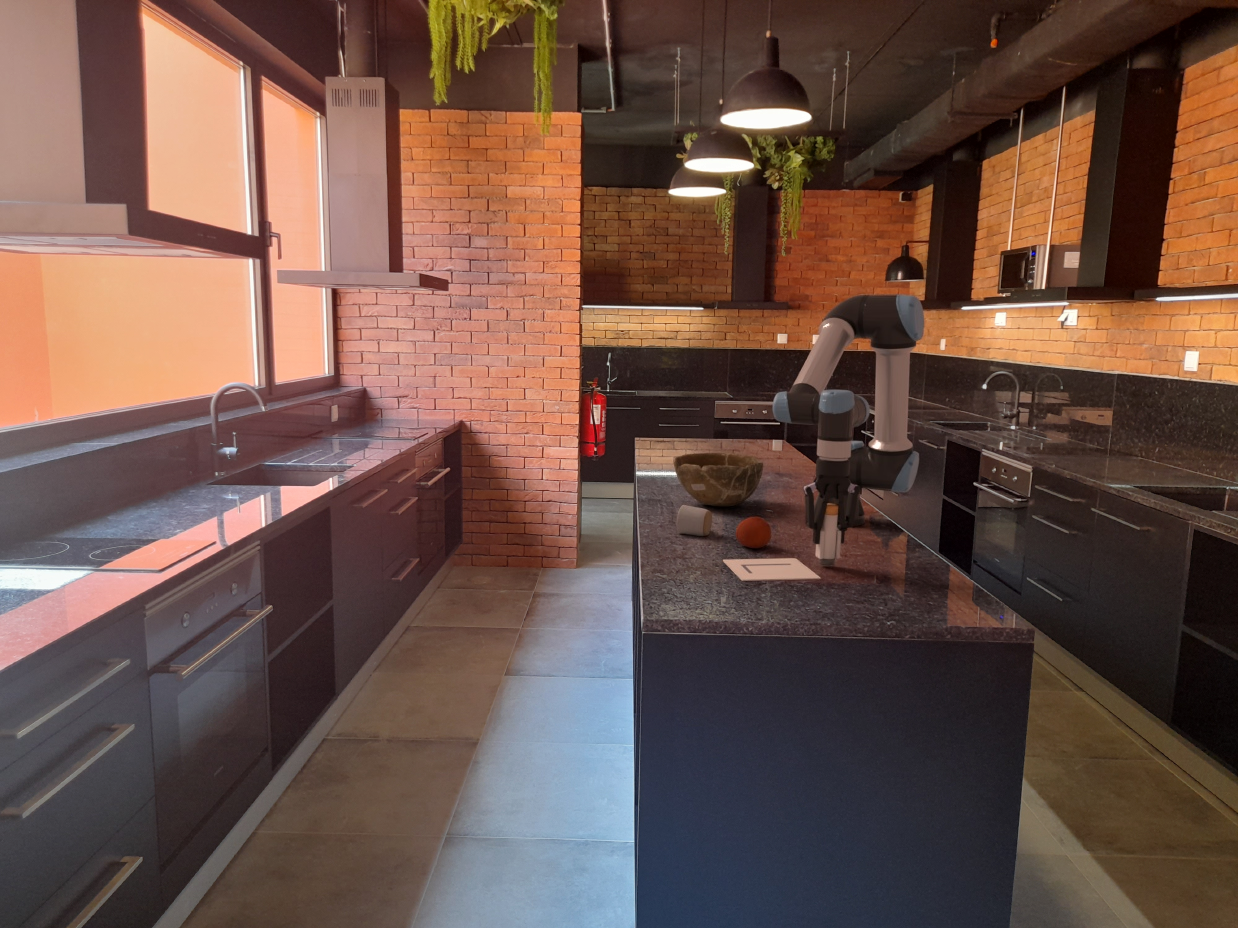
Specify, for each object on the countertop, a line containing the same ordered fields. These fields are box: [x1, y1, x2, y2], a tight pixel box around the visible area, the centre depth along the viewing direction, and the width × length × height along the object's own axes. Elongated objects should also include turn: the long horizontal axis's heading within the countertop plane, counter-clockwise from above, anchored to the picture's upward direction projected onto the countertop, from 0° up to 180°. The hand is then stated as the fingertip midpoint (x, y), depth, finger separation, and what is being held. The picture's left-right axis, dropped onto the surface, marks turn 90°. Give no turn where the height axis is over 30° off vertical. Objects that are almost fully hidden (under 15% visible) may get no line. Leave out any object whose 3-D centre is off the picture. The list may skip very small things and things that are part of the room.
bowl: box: [673, 452, 764, 508], centre depth 261 cm, size 28×27×15 cm
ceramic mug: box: [676, 504, 713, 537], centre depth 226 cm, size 11×8×8 cm
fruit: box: [735, 515, 772, 549], centre depth 213 cm, size 9×9×8 cm
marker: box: [819, 503, 838, 567], centre depth 196 cm, size 4×4×14 cm
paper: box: [722, 557, 822, 582], centre depth 194 cm, size 18×16×1 cm
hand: (827, 556), depth 197 cm, fingers closed on marker, 3 cm apart
